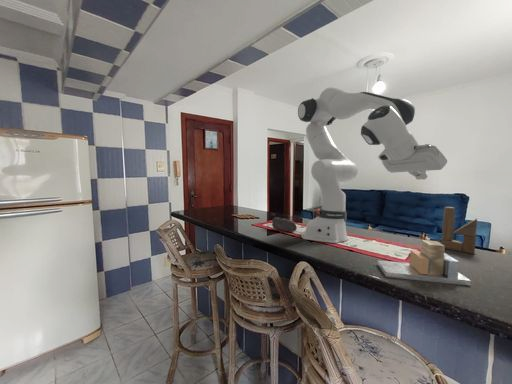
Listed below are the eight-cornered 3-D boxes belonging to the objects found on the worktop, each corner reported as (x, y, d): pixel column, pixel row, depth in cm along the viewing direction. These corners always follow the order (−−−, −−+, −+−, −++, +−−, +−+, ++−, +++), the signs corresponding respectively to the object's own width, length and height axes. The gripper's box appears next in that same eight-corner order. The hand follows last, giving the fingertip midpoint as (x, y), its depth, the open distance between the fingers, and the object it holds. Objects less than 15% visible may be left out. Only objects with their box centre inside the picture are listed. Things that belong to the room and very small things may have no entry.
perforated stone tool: (298, 232, 125) (299, 219, 124) (293, 234, 121) (294, 221, 120) (276, 227, 135) (276, 216, 134) (271, 229, 131) (271, 217, 130)
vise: (386, 276, 71) (387, 256, 71) (377, 264, 81) (378, 246, 80) (470, 285, 66) (472, 263, 65) (450, 271, 75) (452, 252, 75)
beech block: (427, 273, 70) (429, 244, 70) (420, 266, 75) (422, 240, 74) (442, 274, 69) (444, 245, 69) (434, 268, 74) (436, 241, 73)
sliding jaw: (420, 273, 70) (421, 258, 69) (409, 263, 77) (410, 249, 77) (430, 274, 69) (431, 259, 68) (418, 264, 77) (419, 250, 76)
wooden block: (474, 254, 92) (477, 210, 90) (440, 248, 99) (443, 207, 98) (474, 252, 94) (478, 209, 93) (441, 246, 102) (444, 206, 100)
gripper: (439, 136, 69) (460, 170, 72) (384, 147, 89) (402, 173, 92) (427, 150, 68) (449, 184, 71) (374, 157, 88) (393, 184, 90)
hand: (422, 178), depth 81 cm, fingers closed
